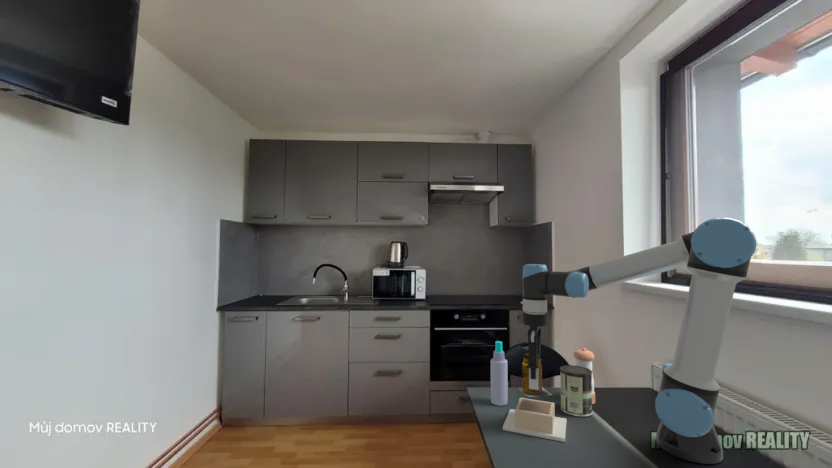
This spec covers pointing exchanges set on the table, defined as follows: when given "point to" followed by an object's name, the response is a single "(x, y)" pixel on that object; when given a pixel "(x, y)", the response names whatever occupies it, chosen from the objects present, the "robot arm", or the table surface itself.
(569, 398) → the coffee can
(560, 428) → the structure base
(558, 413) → the table surface
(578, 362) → the pepper shaker
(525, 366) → the condiment
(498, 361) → the spray bottle
